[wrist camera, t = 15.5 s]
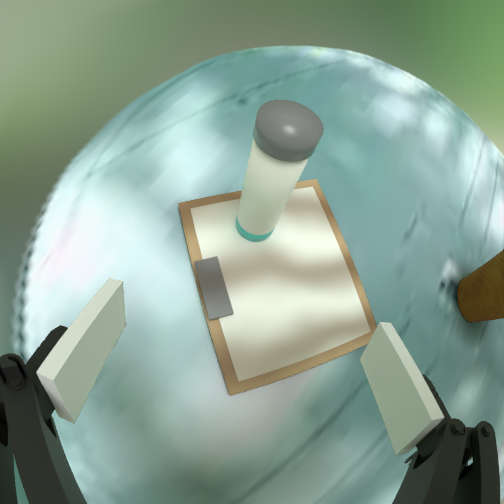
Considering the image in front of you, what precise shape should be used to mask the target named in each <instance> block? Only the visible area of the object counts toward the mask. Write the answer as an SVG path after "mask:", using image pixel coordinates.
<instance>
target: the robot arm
mask: <svg viewBox="0 0 504 504" xmlns="http://www.w3.org/2000/svg"><path fill="white" fill-rule="evenodd" d="M125 326H126V321H125V308H124V291H123V281H119V280H115V279H111V278H109V279H108V280H107V282H106V283H105V284H104V285H103V286H102V287H101V289H100V290H99V291H98V292H97V293H96V294H95V296H94V297H93V298H92V299H91V300H90V302H89V303H88V304H87V305H86V307H85V308H84V309H83V310H82V311H81V313H80V314H79V315H78V316H77V318H76V319H75V320H74V321H73V323H72V324H71V325H70V327H69V328H67V327H64V326H61V325H60V326H59V327H57V328H55V329H54V330H52V331H51V332H50V333H49V334H48V336H47V337H46V338H45V340H44V341H43V342H42V343H41V345H40V347H38V348H37V350H36V351H35V352H34V354H33V355H32V356H31V358H30V359H29V360H28V362H27V363H26V364H24V362H23V359H22V358H21V357H20V356H18V355H16V354H5V355H3V356H1V357H0V504H18V502H17V495H16V486H15V476H14V458H13V453H14V457H15V461H16V465H17V468H18V472H19V475H20V478H21V481H22V484H23V488H24V490H25V493H26V496H27V499H28V501H29V504H87V503H86V501H85V499H84V497H83V495H82V493H81V491H80V489H79V486H78V484H77V482H76V480H75V478H74V475H73V473H72V471H71V468H70V466H69V463H68V461H67V458H66V456H65V453H64V450H63V447H62V445H61V442H60V439H59V436H58V433H57V430H56V426H55V423H54V420H53V417H52V413H53V411H54V409H55V410H56V412H57V414H58V415H59V417H61V418H63V419H66V420H68V421H70V422H72V423H75V422H76V420H77V418H78V416H79V414H80V411H81V409H82V407H83V405H84V403H85V401H86V399H87V397H88V395H89V393H90V391H91V389H92V387H93V385H94V383H95V381H96V379H97V377H98V375H99V373H100V371H101V370H102V368H103V366H104V364H105V362H106V360H107V358H108V356H109V355H110V353H111V351H112V349H113V347H114V346H115V344H116V342H117V340H118V338H119V337H120V335H121V333H122V331H123V330H124V328H125ZM360 361H361V364H362V366H363V369H364V371H365V374H366V376H367V379H368V381H369V384H370V386H371V389H372V392H373V394H374V397H375V399H376V402H377V405H378V407H379V410H380V413H381V415H382V418H383V421H384V424H385V426H386V429H387V432H388V435H389V438H390V441H391V444H392V447H393V449H394V452H395V455H399V454H403V453H407V452H409V451H410V450H411V449H413V448H414V447H415V446H416V447H417V449H418V450H417V451H416V452H415V453H414V454H412V455H411V456H410V457H409V458H408V459H407V460H406V461H405V462H404V463H407V462H409V461H410V460H411V459H412V460H411V463H410V464H409V468H408V470H407V473H406V475H405V477H404V480H403V482H402V484H401V487H400V489H399V491H398V493H397V495H396V497H395V499H394V501H393V503H392V504H500V476H499V463H498V453H497V445H496V438H495V432H494V429H493V427H492V425H491V424H490V423H488V422H486V421H481V422H480V423H479V424H478V425H477V426H476V427H475V428H469V427H465V425H464V424H463V422H462V421H460V420H459V419H455V418H454V419H451V417H450V415H449V413H448V412H447V410H446V408H445V406H444V404H443V402H442V400H441V398H440V397H439V395H438V393H437V391H435V388H434V386H433V384H432V382H431V381H430V380H429V379H428V378H427V377H426V376H425V375H422V374H421V373H420V371H419V369H418V367H417V366H416V364H415V362H414V360H413V359H412V357H411V355H410V354H409V352H408V350H407V349H406V347H405V345H404V344H403V342H402V340H401V339H400V337H399V335H398V334H397V332H396V331H395V329H394V327H393V326H392V324H391V323H387V322H379V324H378V326H377V328H376V330H375V332H374V334H373V335H372V337H371V339H370V341H369V343H368V345H367V347H366V349H365V351H364V352H363V354H362V356H361V358H360ZM471 458H473V463H472V464H470V465H469V466H468V461H469V460H470V459H471Z"/></svg>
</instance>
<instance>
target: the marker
mask: <svg viewBox="0 0 504 504" xmlns="http://www.w3.org/2000/svg"><path fill="white" fill-rule="evenodd" d="M322 134H323V124H322V122H321V120H320V118H319V117H318V116H317V115H316V114H315V113H314V112H313V111H312V110H310V109H309V108H307V107H306V106H304V105H302V104H299V103H296V102H293V101H288V100H273V101H269V102H267V103H265V104H263V105H262V106H261V107H260V108H259V110H258V113H257V118H256V122H255V127H254V131H253V137H254V139H253V143H252V148H251V152H250V157H249V162H248V166H247V171H246V175H245V180H244V185H243V189H242V194H241V199H240V204H239V208H238V213H237V218H236V229H237V231H238V233H239V234H240V235H241V236H242V237H243V238H244V239H246V240H248V241H251V242H261V241H264V240H266V239H268V238H269V237H270V236H271V234H272V232H273V230H274V228H275V226H276V224H277V222H278V220H279V218H280V216H281V214H282V212H283V210H284V208H285V206H286V204H287V202H288V200H289V198H290V196H291V194H292V192H293V190H294V188H295V186H296V184H297V181H298V179H299V177H300V175H301V173H302V171H303V169H304V167H305V165H306V163H307V161H308V159H309V157H310V156H311V155H312V154H313V152H314V150H315V148H316V146H317V144H318V142H319V140H320V138H321V136H322Z"/></svg>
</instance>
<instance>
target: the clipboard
mask: <svg viewBox="0 0 504 504" xmlns="http://www.w3.org/2000/svg"><path fill="white" fill-rule="evenodd" d="M241 194H242V191H237V192H232V193H226V194H221V195H216V196H210V197H205V198H200V199H196V200H191V201H186V202H181V203H178V205H179V210H180V215H181V220H182V224H183V229H184V233H185V237H186V242H187V246H188V250H189V255H190V259H191V263H192V267H193V271H194V275H195V279H196V283H197V287H198V290H199V294H200V298H201V302H202V305H203V309H204V313H205V316H206V320H207V323H208V327H209V330H210V334H211V337H212V341H213V344H214V347H215V351H216V354H217V357H218V361H219V364H220V367H221V370H222V373H223V377H224V380H225V383H226V386H227V389H228V392H229V395H230V396H231V395H234V394H238V393H241V392H245V391H248V390H251V389H254V388H258V387H261V386H264V385H267V384H270V383H273V382H276V381H279V380H281V379H284V378H287V377H290V376H293V375H295V374H298V373H301V372H303V371H306V370H308V369H311V368H313V367H316V366H318V365H321V364H323V363H326V362H328V361H330V360H333V359H335V358H337V357H340V356H342V355H344V354H347V353H349V352H351V351H353V350H355V349H357V348H360V347H362V346H364V345H366V344H368V343H369V341H370V339H371V337H372V335H373V334H374V332H375V330H376V328H377V326H376V323H375V320H374V317H373V314H372V311H371V308H370V305H369V302H368V300H367V297H366V294H365V291H364V289H363V286H362V283H361V281H360V278H359V275H358V273H357V270H356V268H355V265H354V263H353V260H352V258H351V255H350V253H349V250H348V248H347V246H346V243H345V241H344V238H343V236H342V234H341V231H340V229H339V227H338V225H337V222H336V220H335V218H334V216H333V213H332V211H331V209H330V207H329V205H328V202H327V200H326V198H325V196H324V194H323V192H322V190H321V188H320V185H319V183H318V181H317V179H314V180H306V181H299V182H297V184H296V186H295V188H294V190H293V192H292V194H291V196H290V198H289V200H288V202H287V204H286V206H285V208H284V210H283V212H282V214H281V216H280V218H279V220H278V222H277V224H276V226H275V228H274V230H273V232H272V234H271V236H270V237H269V238H268V239H266V240H264V241H261V242H251V241H248V240H246V239H244V238H243V237H242V236H241V235H240V234H239V233H238V231H237V229H236V218H237V213H238V208H239V204H240V199H241Z"/></svg>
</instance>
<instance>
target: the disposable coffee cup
mask: <svg viewBox="0 0 504 504" xmlns="http://www.w3.org/2000/svg"><path fill="white" fill-rule="evenodd" d="M457 300H458V305H459V309H460V312H461V314H462V315H463V317H464V318H465V319H466V320H467V321H469V322H479V321H487V320H495V319H501V318H504V250H503V251H501V252H500V253H499V254H497V255H496V256H495V257H493V258H492V259H491V260H489V261H488V262H487V263H485V264H484V265H482V266H481V267H480V268H478V269H477V270H475V271H474V272H472V273H471V274H469V275H468V276H466V277H465V278H463V279H462V280H461V281H460V283H459V285H458V290H457Z"/></svg>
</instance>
